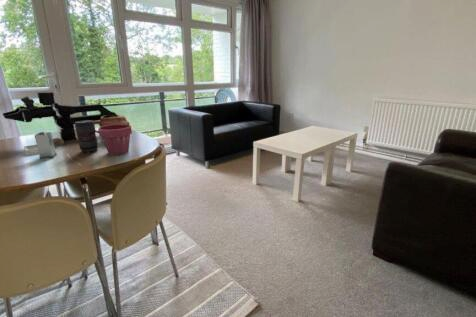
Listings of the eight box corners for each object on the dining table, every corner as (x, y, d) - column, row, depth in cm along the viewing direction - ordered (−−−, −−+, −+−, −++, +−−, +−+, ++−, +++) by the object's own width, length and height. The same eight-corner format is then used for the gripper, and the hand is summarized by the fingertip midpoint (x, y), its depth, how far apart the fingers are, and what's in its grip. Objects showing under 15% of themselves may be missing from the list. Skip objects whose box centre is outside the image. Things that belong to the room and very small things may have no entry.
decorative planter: (95, 145, 139) (91, 119, 135) (91, 140, 148) (86, 116, 144) (134, 139, 151) (131, 115, 146) (127, 135, 160) (124, 112, 156)
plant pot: (125, 146, 137) (122, 122, 133) (139, 151, 129) (136, 126, 125) (97, 152, 127) (92, 126, 123) (110, 159, 118) (106, 131, 114)
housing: (44, 155, 122) (38, 131, 118) (57, 154, 124) (51, 130, 120) (39, 159, 118) (33, 134, 114) (53, 158, 119) (47, 133, 115)
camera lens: (102, 149, 131) (97, 120, 127) (89, 154, 124) (83, 123, 119) (90, 148, 134) (84, 119, 129) (76, 152, 127) (70, 122, 122)
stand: (46, 147, 134) (45, 142, 134) (50, 151, 128) (48, 146, 127) (24, 151, 129) (23, 146, 128) (27, 155, 122) (25, 150, 122)
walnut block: (58, 144, 142) (57, 138, 141) (64, 145, 140) (62, 139, 138) (48, 146, 137) (47, 140, 136) (54, 147, 135) (53, 141, 134)
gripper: (35, 95, 143) (-3, 97, 132) (41, 98, 130) (-1, 100, 120) (40, 115, 146) (3, 119, 136) (46, 120, 133) (6, 124, 123)
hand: (3, 115), depth 129 cm, fingers open, 9 cm apart
